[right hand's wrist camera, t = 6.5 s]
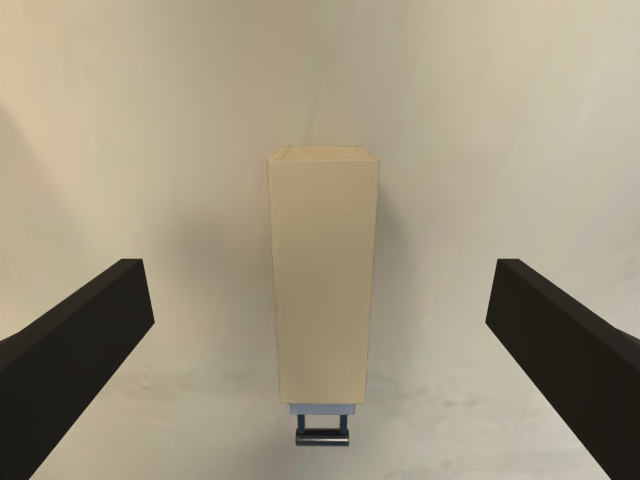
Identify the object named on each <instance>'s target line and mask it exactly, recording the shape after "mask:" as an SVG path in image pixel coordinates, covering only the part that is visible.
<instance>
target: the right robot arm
mask: <svg viewBox="0 0 640 480" xmlns="http://www.w3.org/2000/svg"><path fill="white" fill-rule="evenodd" d="M154 323H155V321H154V316H153V311H152V306H151V301H150V295H149V290H148V285H147V280H146V275H145V270H144V265H143V260H142V259H121V260H119V261H118V262H116V263H115V264H114V265H112V266H111V267H109V268H108V269H107V270H105V271H104V272H102V273H101V274H100V275H98V276H97V277H95V278H94V279H93V280H91V281H90V282H88V283H87V284H86V285H84V286H83V287H81V288H80V289H79V290H77V291H76V292H74V293H73V294H72V295H70V296H69V297H67V298H66V299H65V300H63V301H62V302H60V303H59V304H58V305H56V306H55V307H53V308H52V309H51V310H49V311H48V312H46V313H45V314H44V315H42V316H41V317H39V318H38V319H37V320H35V321H34V322H32V323H31V324H30V325H28V326H27V327H25V328H24V329H23V330H21V331H20V332H18V333H16V334H14V335H12V336H10V337H8V338H6V339H4V340H2V341H0V480H29V479H30V477H31V476H32V475H33V474H34V473H35V471H36V470H37V469H38V468H39V466H40V465H41V464H42V463H43V461H44V460H45V459H46V458H47V456H48V455H49V454H50V453H51V451H52V450H53V449H54V448H55V446H56V445H57V444H58V443H59V441H60V440H61V439H62V438H63V436H64V435H65V434H66V433H67V431H68V430H69V429H70V428H71V426H72V425H73V424H74V423H75V421H76V420H77V419H78V418H79V416H80V415H81V414H82V413H83V411H84V410H85V409H86V408H87V407H88V405H89V404H90V403H91V402H92V400H93V399H94V398H95V397H96V395H97V394H98V393H99V392H100V390H101V389H102V388H103V387H104V385H105V384H106V383H107V382H108V380H109V379H110V378H111V377H112V375H113V374H114V373H115V372H116V370H117V369H118V368H119V367H120V365H121V364H122V363H123V362H124V360H125V359H126V358H127V357H128V355H129V354H130V353H131V352H132V350H133V349H134V348H135V347H136V345H137V344H138V343H139V342H140V340H141V339H142V338H143V337H144V336H145V334H146V333H147V332H148V331H149V329H150V328H151V327H152V326H153V324H154ZM485 323H486V324H487V326H488V327H489V328H490V329H491V331H492V332H493V333H494V334H495V336H496V337H497V338H498V339H499V340H500V342H501V343H502V344H503V345H504V347H505V348H506V349H507V350H508V352H509V353H510V354H511V355H512V357H513V358H514V359H515V360H516V362H517V363H518V364H519V365H520V367H521V368H522V369H523V370H524V372H525V373H526V374H527V375H528V377H529V378H530V379H531V380H532V382H533V383H534V384H535V385H536V387H537V388H538V389H539V390H540V392H541V393H542V394H543V395H544V397H545V398H546V399H547V400H548V402H549V403H550V404H551V405H552V407H553V408H554V409H555V410H556V411H557V413H558V414H559V415H560V416H561V418H562V419H563V420H564V421H565V423H566V424H567V425H568V426H569V428H570V429H571V430H572V431H573V433H574V434H575V435H576V436H577V438H578V439H579V440H580V441H581V443H582V444H583V445H584V446H585V448H586V449H587V450H588V451H589V453H590V454H591V455H592V456H593V458H594V459H595V460H596V461H597V463H598V464H599V465H600V466H601V468H602V469H603V470H604V471H605V473H606V474H607V475H608V476H609V477H610V479H611V480H640V339H637V338H635V337H633V336H631V335H629V334H627V333H625V332H623V331H621V330H619V329H616V328H615V327H613V326H612V325H610V324H609V323H608V322H606V321H605V320H603V319H602V318H601V317H599V316H598V315H596V314H595V313H594V312H592V311H591V310H589V309H588V308H587V307H585V306H584V305H582V304H581V303H580V302H578V301H577V300H575V299H574V298H573V297H571V296H570V295H568V294H567V293H566V292H564V291H563V290H561V289H560V288H559V287H557V286H556V285H554V284H553V283H552V282H550V281H549V280H547V279H546V278H545V277H543V276H542V275H540V274H539V273H538V272H536V271H535V270H533V269H532V268H531V267H529V266H528V265H526V264H525V263H524V262H522V261H521V260H519V259H498V260H497V265H496V270H495V275H494V280H493V285H492V290H491V295H490V301H489V306H488V311H487V316H486V321H485Z"/></svg>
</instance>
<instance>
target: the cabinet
mask: <svg viewBox="0 0 640 480" xmlns="http://www.w3.org/2000/svg"><path fill="white" fill-rule="evenodd" d="M267 164H268V183H269V201H270V220H271V239H272V257H273V276H274V295H275V313H276V332H277V350H278V369H279V388H280V403H304V404H364V403H365V391H366V374H367V358H368V341H369V325H370V308H371V292H372V275H373V258H374V242H375V225H376V209H377V192H378V176H379V160H378V159H377V158H376V157H375V156H373V155H372V154H371V153H370V152H368V151H367V150H366V149H365V148H364V147H362V146H284V147H283V148H281V149H280V150H279V151H278V152H277V153H275V154H274V155H273V156H272V157H271V158H270V159H268V160H267Z"/></svg>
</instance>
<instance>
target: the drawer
mask: <svg viewBox="0 0 640 480" xmlns="http://www.w3.org/2000/svg"><path fill="white" fill-rule="evenodd" d="M354 412H355V404H304V403H290V413H291V414H297V417H298V428H297V429H296V446H349V430H348V429H347V415H354ZM305 414H311V415H340V428H305Z"/></svg>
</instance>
